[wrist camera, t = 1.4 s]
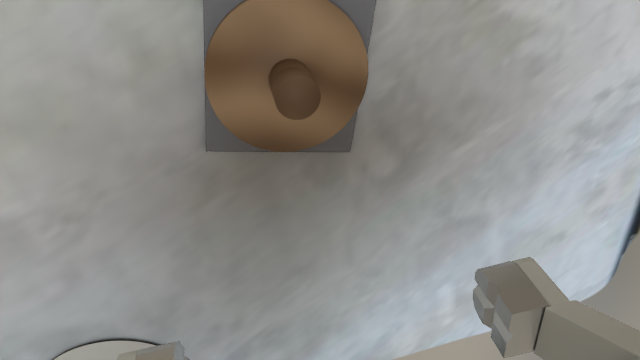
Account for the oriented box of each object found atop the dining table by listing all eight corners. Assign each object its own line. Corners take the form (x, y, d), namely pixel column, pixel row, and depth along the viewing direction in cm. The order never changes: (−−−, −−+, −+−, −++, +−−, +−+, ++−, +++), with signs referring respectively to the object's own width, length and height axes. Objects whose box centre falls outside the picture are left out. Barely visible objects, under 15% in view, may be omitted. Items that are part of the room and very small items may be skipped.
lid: (350, 146, 34) (368, 175, 30) (205, 145, 32) (205, 177, 28) (376, -4, 29) (401, 10, 25) (203, -21, 26) (201, -8, 22)
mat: (348, 148, 35) (350, 152, 34) (206, 147, 32) (206, 151, 32) (375, -13, 29) (378, -12, 28) (202, -31, 26) (202, -30, 26)
